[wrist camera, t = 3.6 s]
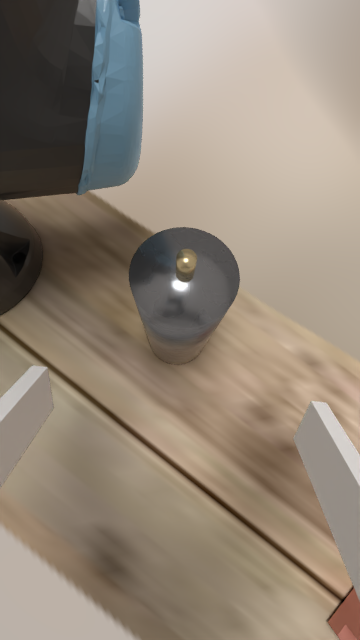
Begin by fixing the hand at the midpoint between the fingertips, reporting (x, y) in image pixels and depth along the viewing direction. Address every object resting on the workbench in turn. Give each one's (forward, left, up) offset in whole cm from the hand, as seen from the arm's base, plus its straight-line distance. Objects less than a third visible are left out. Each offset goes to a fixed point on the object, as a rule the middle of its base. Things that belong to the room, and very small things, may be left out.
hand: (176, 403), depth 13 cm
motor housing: (-5, +5, -13) cm, 14 cm away
